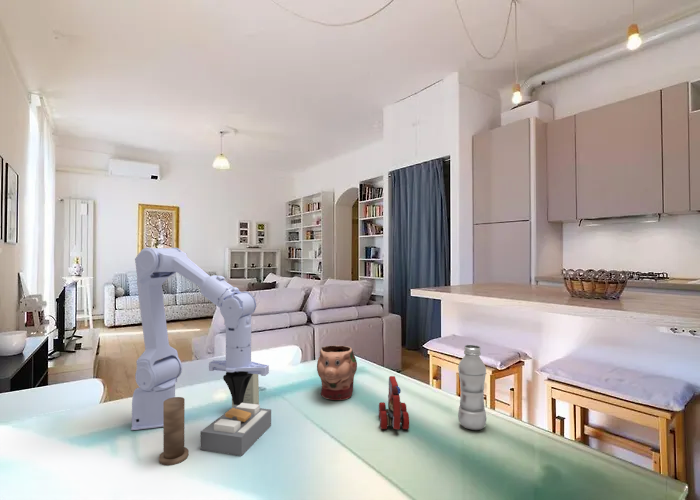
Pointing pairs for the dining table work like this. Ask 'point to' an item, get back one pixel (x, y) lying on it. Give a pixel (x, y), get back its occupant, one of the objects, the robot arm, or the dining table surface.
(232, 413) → the breaker paddle
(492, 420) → the dining table surface
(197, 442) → the dining table surface
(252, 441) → the switch box
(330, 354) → the decorative planter
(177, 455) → the walnut post
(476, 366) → the plastic bottle
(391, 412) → the toy fire truck
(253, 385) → the skincare box
